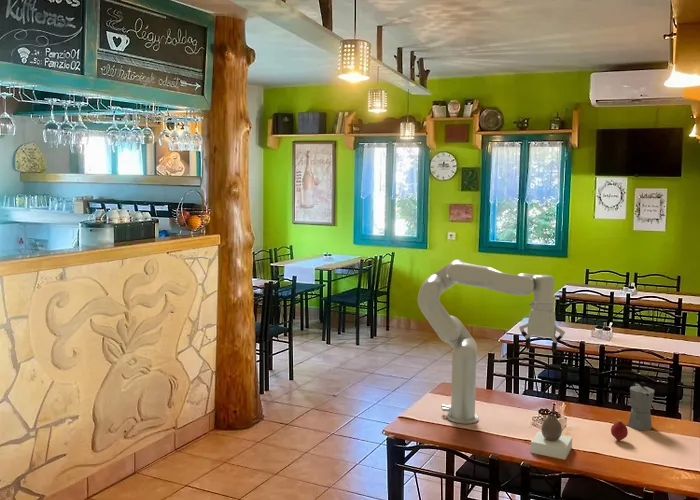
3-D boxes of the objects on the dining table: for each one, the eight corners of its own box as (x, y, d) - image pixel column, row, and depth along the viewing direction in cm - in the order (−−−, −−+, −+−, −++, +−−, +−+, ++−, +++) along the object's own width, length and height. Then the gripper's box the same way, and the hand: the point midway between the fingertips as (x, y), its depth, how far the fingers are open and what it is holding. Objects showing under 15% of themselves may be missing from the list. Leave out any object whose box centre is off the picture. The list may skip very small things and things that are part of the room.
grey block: (530, 452, 237) (530, 441, 236) (538, 441, 247) (538, 430, 247) (565, 459, 231) (565, 448, 231) (571, 447, 242) (572, 437, 241)
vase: (562, 443, 235) (563, 419, 234) (542, 442, 236) (543, 418, 235) (560, 436, 242) (561, 412, 241) (540, 434, 243) (541, 411, 242)
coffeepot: (658, 433, 257) (661, 387, 255) (633, 432, 258) (636, 386, 256) (643, 418, 272) (646, 375, 270) (620, 418, 273) (622, 375, 271)
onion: (626, 439, 251) (627, 418, 250) (627, 444, 245) (628, 423, 244) (610, 436, 253) (611, 416, 252) (610, 442, 247) (611, 421, 246)
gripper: (518, 306, 259) (516, 349, 261) (564, 310, 251) (561, 355, 252) (522, 303, 265) (521, 345, 267) (567, 307, 257) (565, 351, 259)
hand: (540, 350), depth 260 cm, fingers open, 9 cm apart
